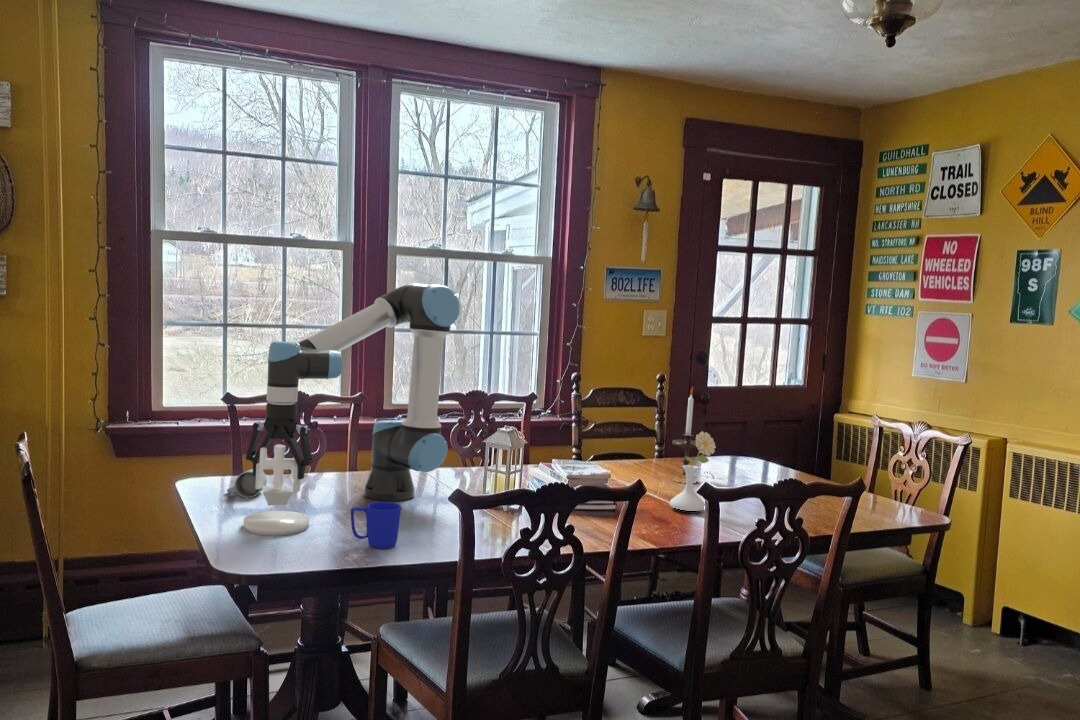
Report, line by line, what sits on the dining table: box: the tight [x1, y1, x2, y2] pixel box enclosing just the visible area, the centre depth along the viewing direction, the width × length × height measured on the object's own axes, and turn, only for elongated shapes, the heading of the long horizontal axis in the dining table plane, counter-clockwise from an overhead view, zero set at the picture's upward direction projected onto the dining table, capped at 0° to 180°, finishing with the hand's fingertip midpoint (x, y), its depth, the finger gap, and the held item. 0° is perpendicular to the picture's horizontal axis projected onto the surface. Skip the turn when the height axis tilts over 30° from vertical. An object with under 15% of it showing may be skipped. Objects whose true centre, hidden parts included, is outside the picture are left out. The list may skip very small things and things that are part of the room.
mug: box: [350, 501, 402, 550], centre depth 203 cm, size 8×12×10 cm
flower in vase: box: [668, 430, 717, 512], centre depth 259 cm, size 13×11×25 cm
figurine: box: [260, 443, 298, 506], centre depth 212 cm, size 7×9×15 cm
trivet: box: [242, 510, 310, 537], centre depth 213 cm, size 16×16×2 cm
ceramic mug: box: [226, 468, 268, 499], centre depth 243 cm, size 11×8×8 cm
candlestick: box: [672, 385, 697, 475], centre depth 302 cm, size 11×11×35 cm
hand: (277, 489), depth 213 cm, fingers closed on figurine, 9 cm apart
